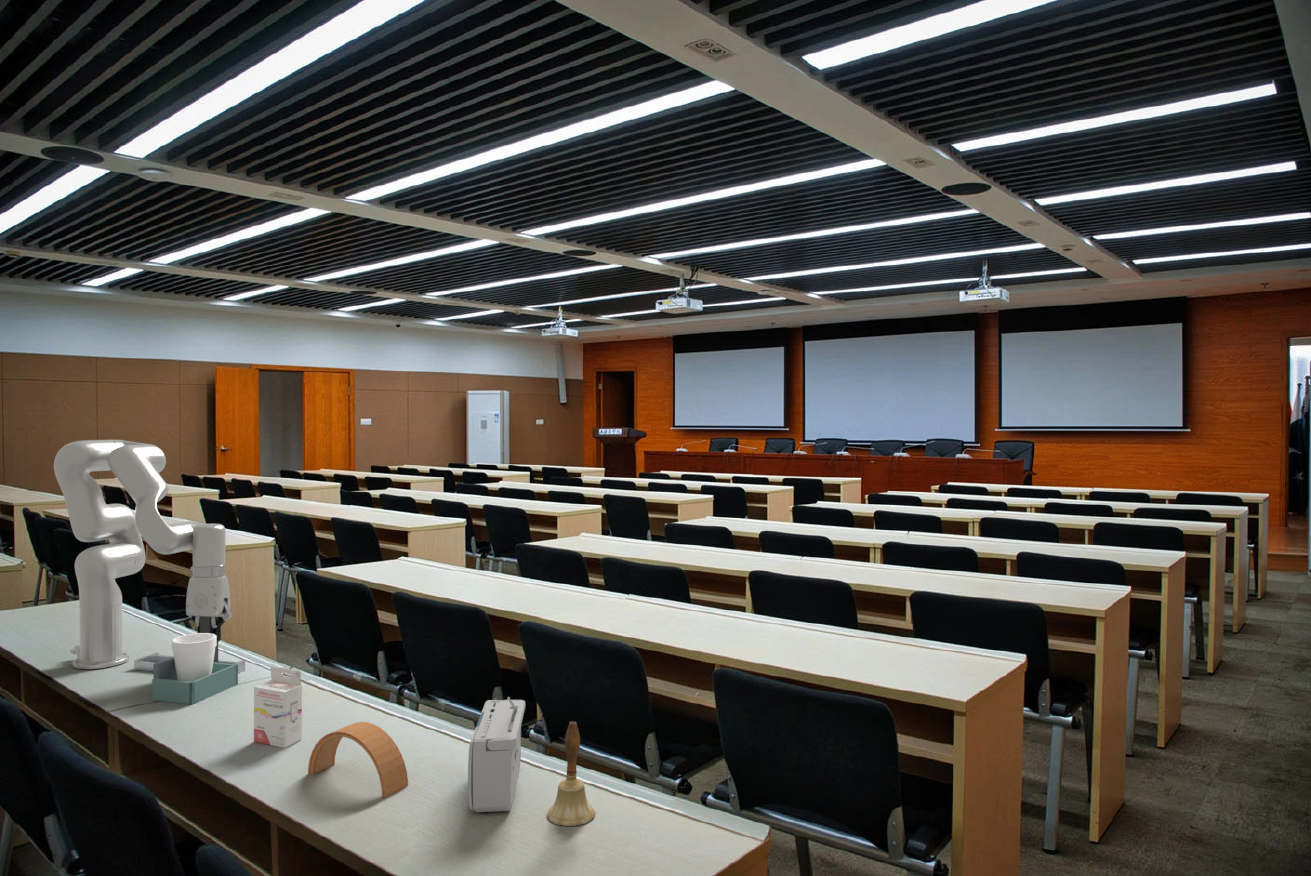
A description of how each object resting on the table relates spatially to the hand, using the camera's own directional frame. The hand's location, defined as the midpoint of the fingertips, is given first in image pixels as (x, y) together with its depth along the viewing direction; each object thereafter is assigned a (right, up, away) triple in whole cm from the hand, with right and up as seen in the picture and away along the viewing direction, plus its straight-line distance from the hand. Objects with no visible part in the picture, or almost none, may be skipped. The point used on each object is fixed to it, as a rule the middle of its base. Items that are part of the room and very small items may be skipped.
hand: (209, 640), depth 216 cm
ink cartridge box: (+38, -10, -44) cm, 59 cm away
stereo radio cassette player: (+88, -12, -64) cm, 109 cm away
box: (+5, -9, -15) cm, 18 cm away
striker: (-1, -8, -9) cm, 12 cm away
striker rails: (-6, -8, +2) cm, 10 cm away
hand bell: (+102, -12, -74) cm, 127 cm away
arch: (+61, -11, -61) cm, 87 cm away
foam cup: (+4, -9, -15) cm, 18 cm away
